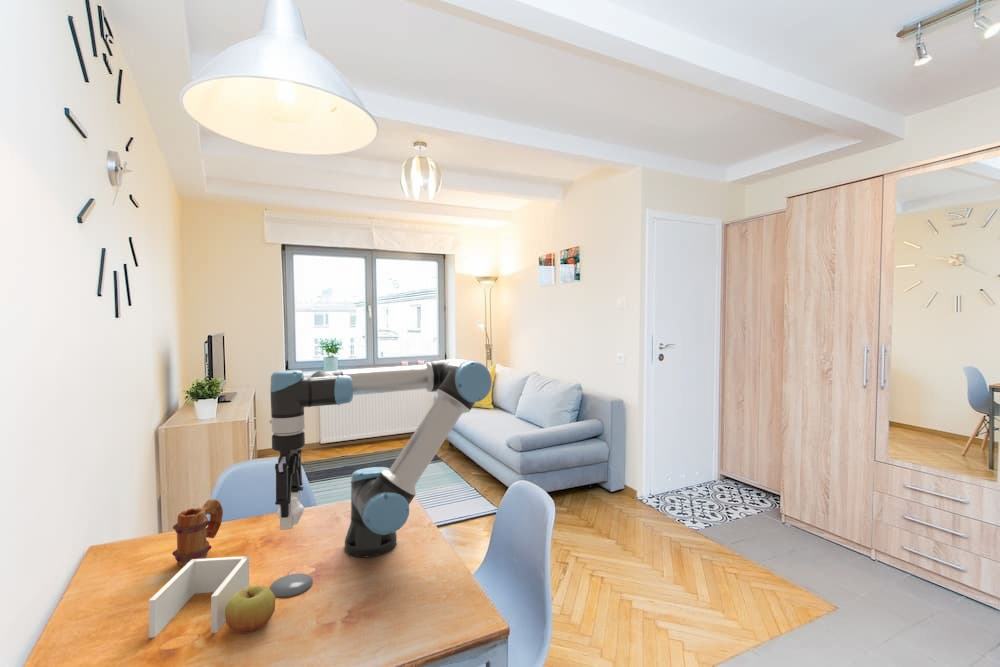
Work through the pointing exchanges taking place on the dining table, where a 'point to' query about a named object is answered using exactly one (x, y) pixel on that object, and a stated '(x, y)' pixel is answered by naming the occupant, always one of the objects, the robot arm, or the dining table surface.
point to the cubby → (199, 589)
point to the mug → (196, 531)
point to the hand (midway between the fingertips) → (290, 522)
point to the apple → (250, 609)
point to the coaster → (291, 585)
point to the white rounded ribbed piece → (295, 510)
